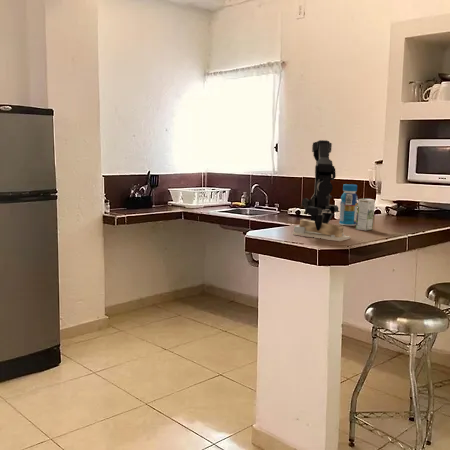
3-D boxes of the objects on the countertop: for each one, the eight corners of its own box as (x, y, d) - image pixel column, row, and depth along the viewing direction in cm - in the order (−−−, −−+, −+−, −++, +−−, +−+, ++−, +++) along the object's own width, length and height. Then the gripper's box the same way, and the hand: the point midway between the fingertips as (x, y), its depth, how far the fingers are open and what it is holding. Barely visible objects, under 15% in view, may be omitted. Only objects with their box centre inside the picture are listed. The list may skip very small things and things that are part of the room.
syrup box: (361, 228, 263) (364, 198, 261) (372, 230, 259) (375, 199, 257) (355, 229, 259) (357, 198, 257) (366, 231, 255) (368, 199, 253)
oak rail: (299, 229, 236) (300, 219, 235) (302, 228, 239) (304, 219, 238) (338, 237, 227) (340, 227, 226) (342, 235, 230) (343, 226, 229)
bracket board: (304, 232, 243) (304, 224, 243) (350, 238, 230) (350, 230, 229) (292, 234, 236) (292, 226, 235) (339, 241, 222) (339, 232, 222)
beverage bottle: (335, 224, 275) (337, 184, 272) (346, 223, 280) (349, 184, 277) (348, 226, 268) (350, 185, 265) (359, 225, 273) (362, 185, 270)
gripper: (317, 190, 243) (315, 225, 245) (294, 192, 228) (292, 229, 230) (340, 192, 236) (337, 228, 238) (318, 194, 221) (316, 232, 224)
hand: (320, 229), depth 233 cm, fingers closed on oak rail, 4 cm apart
